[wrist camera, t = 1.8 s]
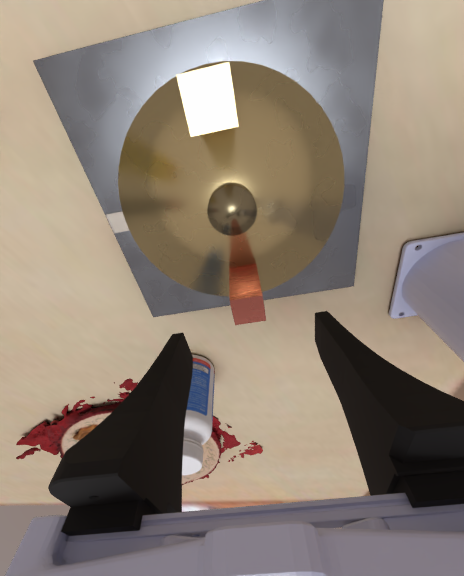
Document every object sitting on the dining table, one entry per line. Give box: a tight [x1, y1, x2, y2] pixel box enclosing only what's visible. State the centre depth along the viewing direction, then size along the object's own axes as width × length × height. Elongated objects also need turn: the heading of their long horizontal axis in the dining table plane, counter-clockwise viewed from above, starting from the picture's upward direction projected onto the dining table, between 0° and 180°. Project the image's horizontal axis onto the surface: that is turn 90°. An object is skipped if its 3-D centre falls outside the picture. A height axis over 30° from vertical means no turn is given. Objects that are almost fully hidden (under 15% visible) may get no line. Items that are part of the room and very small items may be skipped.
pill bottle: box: [182, 355, 215, 475], centre depth 25 cm, size 6×5×10 cm
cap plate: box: [33, 0, 384, 317], centre depth 18 cm, size 18×18×1 cm
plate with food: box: [16, 379, 263, 485], centre depth 37 cm, size 25×26×4 cm
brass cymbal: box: [118, 61, 344, 325], centre depth 15 cm, size 14×14×6 cm
